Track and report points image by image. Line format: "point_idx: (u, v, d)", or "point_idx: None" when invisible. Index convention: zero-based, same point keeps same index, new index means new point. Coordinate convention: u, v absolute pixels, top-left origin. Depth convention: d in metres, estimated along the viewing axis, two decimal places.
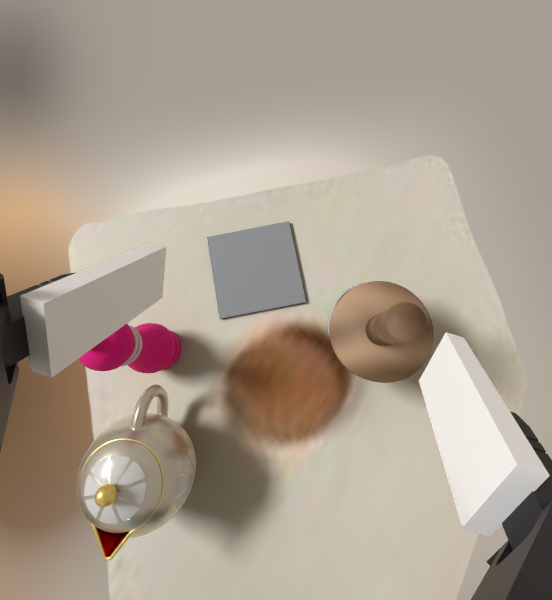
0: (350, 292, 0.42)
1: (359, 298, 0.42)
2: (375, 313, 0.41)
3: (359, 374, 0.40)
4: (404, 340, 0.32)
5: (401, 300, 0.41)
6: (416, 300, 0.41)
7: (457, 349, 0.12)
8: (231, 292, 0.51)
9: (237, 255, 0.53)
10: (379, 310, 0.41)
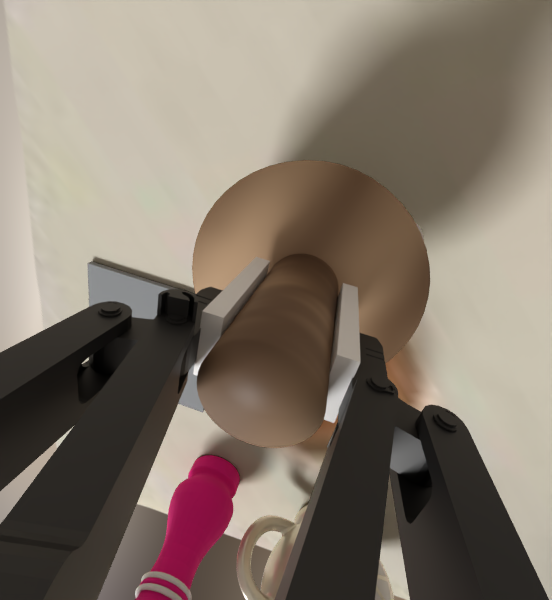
0: None
1: None
2: None
3: None
4: (310, 432, 0.10)
5: (259, 209, 0.16)
6: (273, 172, 0.15)
7: (344, 293, 0.15)
8: None
9: None
10: None
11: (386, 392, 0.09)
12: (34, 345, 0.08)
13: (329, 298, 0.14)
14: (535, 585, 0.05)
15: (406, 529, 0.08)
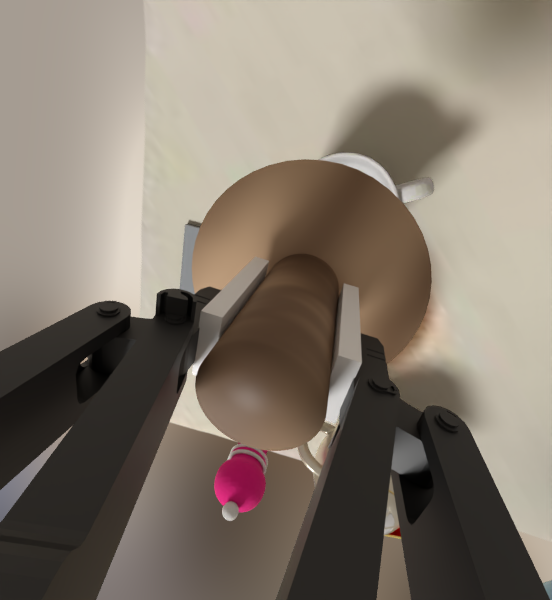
0: None
1: None
2: None
3: None
4: (310, 435, 0.10)
5: (259, 209, 0.16)
6: (274, 171, 0.15)
7: (345, 293, 0.15)
8: None
9: None
10: None
11: (388, 392, 0.09)
12: (32, 345, 0.08)
13: (330, 299, 0.13)
14: (537, 586, 0.05)
15: (408, 530, 0.08)
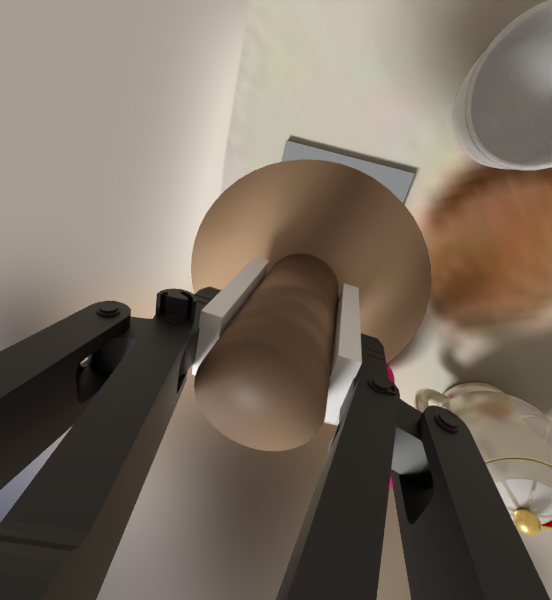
0: None
1: None
2: None
3: None
4: (309, 435, 0.10)
5: (258, 209, 0.16)
6: (273, 171, 0.15)
7: (345, 293, 0.15)
8: None
9: None
10: None
11: (388, 392, 0.09)
12: (32, 345, 0.08)
13: (329, 299, 0.13)
14: (536, 587, 0.05)
15: (408, 530, 0.08)
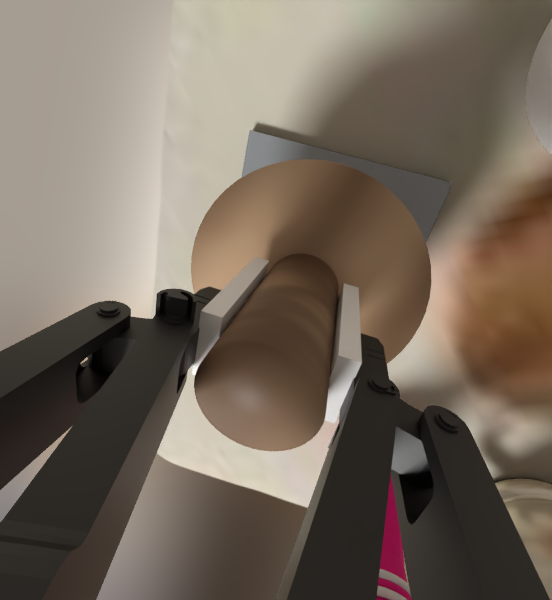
0: None
1: None
2: None
3: None
4: (309, 435, 0.10)
5: (258, 209, 0.16)
6: (273, 171, 0.15)
7: (345, 293, 0.15)
8: None
9: None
10: None
11: (388, 392, 0.09)
12: (33, 345, 0.08)
13: (329, 299, 0.13)
14: (536, 587, 0.05)
15: (408, 530, 0.08)
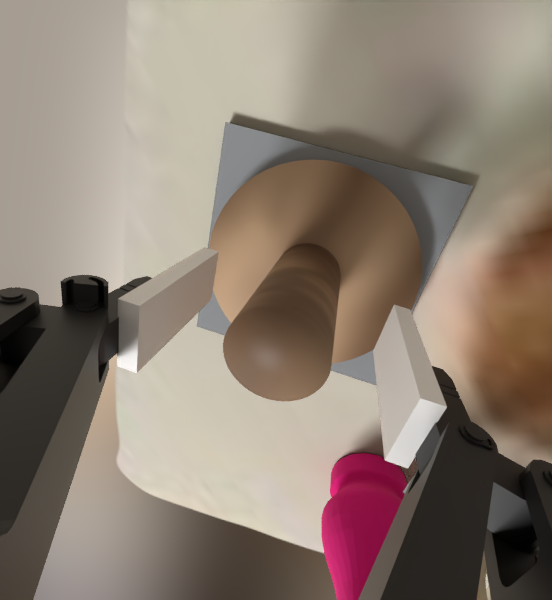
0: (215, 286, 0.21)
1: (232, 278, 0.21)
2: (271, 267, 0.20)
3: (360, 353, 0.21)
4: (317, 386, 0.12)
5: (269, 203, 0.18)
6: (283, 170, 0.17)
7: (399, 317, 0.14)
8: None
9: None
10: (269, 257, 0.20)
11: (483, 445, 0.08)
12: None
13: (333, 280, 0.16)
14: None
15: (500, 593, 0.07)
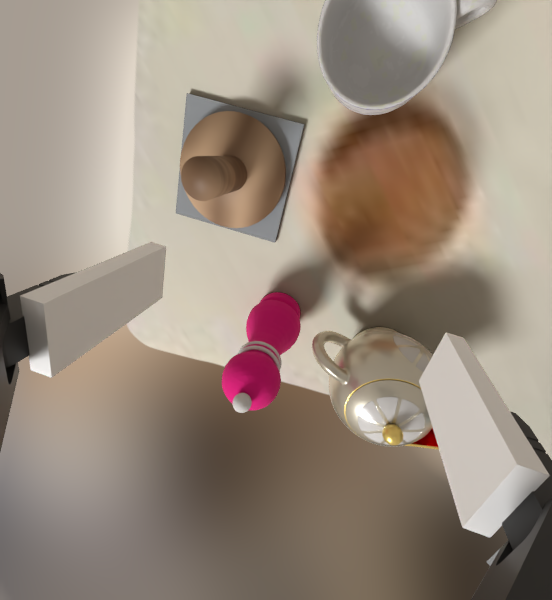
0: None
1: None
2: None
3: (261, 218, 0.40)
4: (217, 191, 0.30)
5: (209, 134, 0.37)
6: (214, 116, 0.36)
7: (457, 349, 0.12)
8: None
9: None
10: None
11: None
12: None
13: (234, 165, 0.34)
14: None
15: None
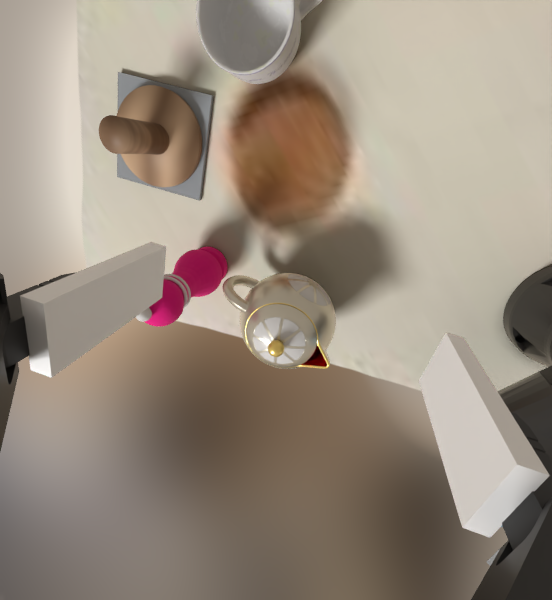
0: None
1: None
2: None
3: (184, 177, 0.47)
4: (128, 145, 0.38)
5: (136, 105, 0.44)
6: (139, 90, 0.43)
7: (457, 349, 0.12)
8: None
9: None
10: None
11: None
12: None
13: (151, 128, 0.41)
14: None
15: None
